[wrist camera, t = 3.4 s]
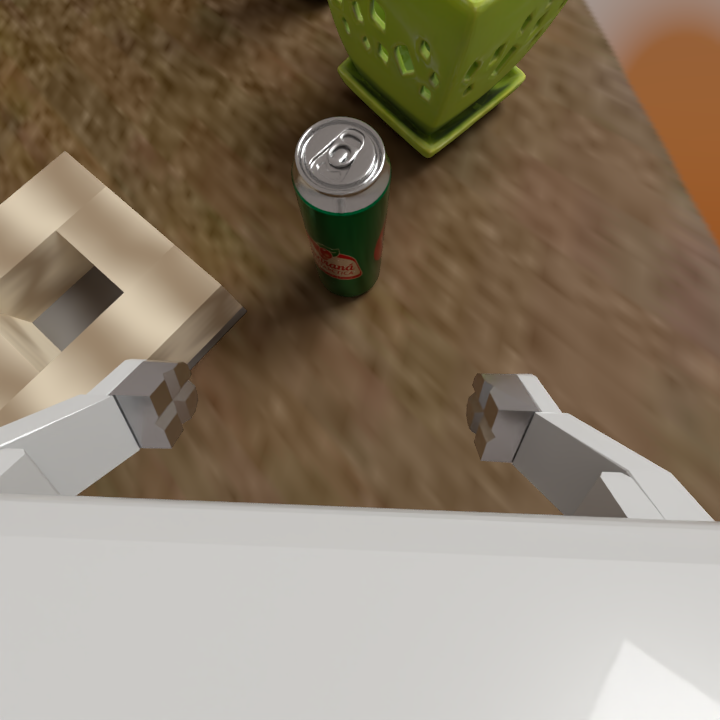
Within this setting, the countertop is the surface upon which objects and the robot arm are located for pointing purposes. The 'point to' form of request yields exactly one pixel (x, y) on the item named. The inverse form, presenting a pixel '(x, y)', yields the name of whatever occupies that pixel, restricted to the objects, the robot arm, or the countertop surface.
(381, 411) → the countertop surface
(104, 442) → the robot arm
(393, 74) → the flower pot
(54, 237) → the can holder
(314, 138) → the soda can
